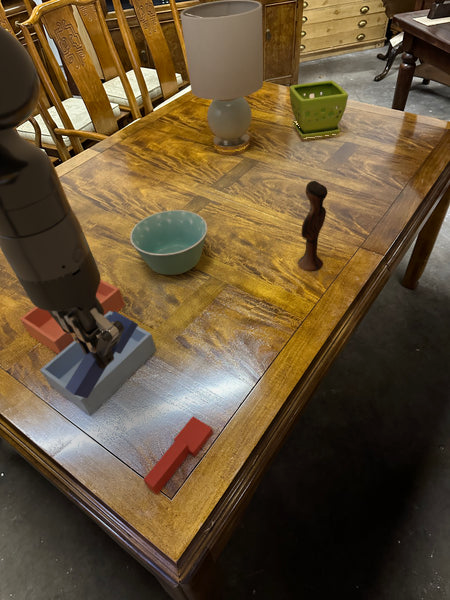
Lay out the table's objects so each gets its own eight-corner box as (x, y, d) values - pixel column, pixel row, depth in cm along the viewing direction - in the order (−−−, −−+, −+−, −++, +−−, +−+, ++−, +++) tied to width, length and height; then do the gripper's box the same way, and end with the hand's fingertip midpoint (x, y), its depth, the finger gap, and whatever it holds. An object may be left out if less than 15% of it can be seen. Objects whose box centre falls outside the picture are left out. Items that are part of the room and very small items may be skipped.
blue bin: (90, 416, 65) (81, 400, 61) (50, 385, 69) (39, 369, 66) (156, 350, 73) (151, 333, 70) (116, 327, 78) (109, 310, 74)
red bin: (63, 358, 73) (54, 341, 70) (29, 334, 78) (19, 318, 75) (125, 305, 82) (119, 288, 78) (91, 287, 86) (84, 270, 83)
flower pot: (344, 138, 124) (349, 93, 116) (298, 145, 124) (300, 100, 115) (329, 120, 134) (333, 78, 126) (287, 127, 134) (288, 84, 125)
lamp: (273, 154, 121) (272, 9, 96) (206, 167, 119) (187, 22, 94) (254, 128, 135) (249, -5, 111) (193, 139, 133) (174, 7, 109)
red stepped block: (162, 499, 55) (158, 491, 53) (142, 483, 56) (138, 475, 55) (213, 432, 61) (211, 424, 59) (194, 420, 62) (191, 411, 61)
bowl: (165, 233, 98) (158, 203, 92) (224, 249, 92) (221, 217, 86) (124, 275, 88) (113, 243, 82) (187, 295, 82) (180, 262, 76)
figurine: (310, 249, 89) (316, 170, 76) (331, 257, 86) (340, 177, 74) (291, 267, 85) (293, 188, 73) (312, 276, 83) (319, 196, 70)
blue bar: (92, 401, 52) (78, 398, 50) (74, 388, 54) (60, 384, 52) (138, 324, 54) (127, 317, 52) (120, 314, 56) (108, 307, 54)
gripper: (-20, 252, 43) (46, 356, 55) (62, 302, 36) (116, 407, 48) (41, 216, 47) (89, 320, 59) (124, 255, 40) (159, 363, 52)
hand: (101, 359), depth 54 cm, fingers closed on blue bar, 1 cm apart
